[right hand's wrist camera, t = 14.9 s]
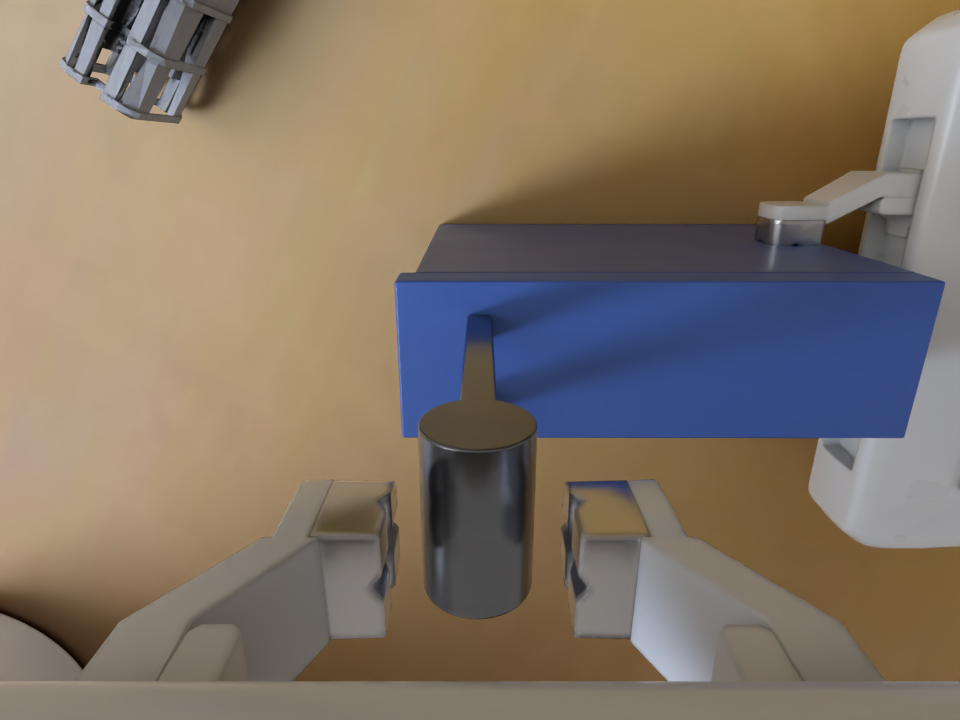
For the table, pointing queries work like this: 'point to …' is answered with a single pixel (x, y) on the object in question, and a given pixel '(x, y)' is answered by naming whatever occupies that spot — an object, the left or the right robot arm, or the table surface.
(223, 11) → the toy gun
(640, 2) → the table surface
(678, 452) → the table surface
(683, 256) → the chest
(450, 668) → the table surface
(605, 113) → the table surface
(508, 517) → the lid
